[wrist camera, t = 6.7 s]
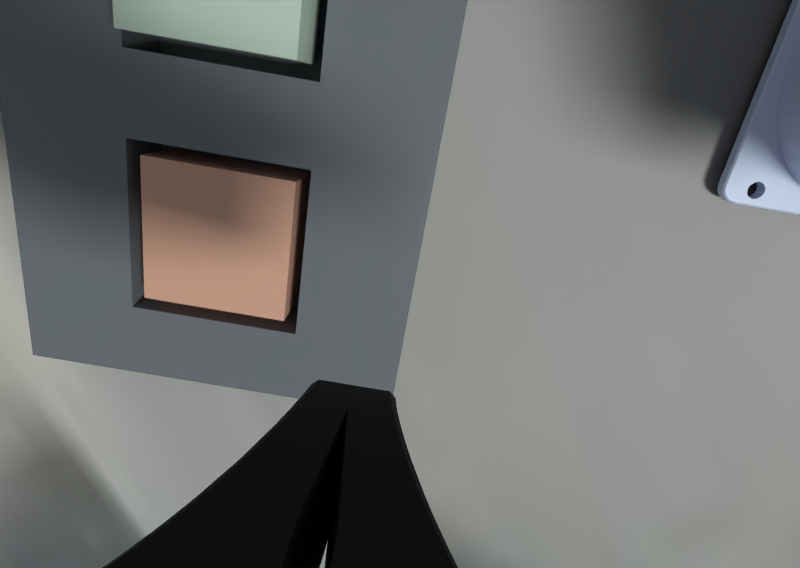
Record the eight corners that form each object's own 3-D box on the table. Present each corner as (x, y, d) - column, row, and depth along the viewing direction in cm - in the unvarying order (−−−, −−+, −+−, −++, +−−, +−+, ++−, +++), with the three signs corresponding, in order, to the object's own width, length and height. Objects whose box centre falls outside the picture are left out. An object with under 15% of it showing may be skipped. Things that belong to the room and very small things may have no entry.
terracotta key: (310, 171, 16) (295, 182, 14) (298, 296, 17) (283, 321, 15) (174, 147, 15) (139, 154, 14) (174, 275, 17) (144, 297, 15)
